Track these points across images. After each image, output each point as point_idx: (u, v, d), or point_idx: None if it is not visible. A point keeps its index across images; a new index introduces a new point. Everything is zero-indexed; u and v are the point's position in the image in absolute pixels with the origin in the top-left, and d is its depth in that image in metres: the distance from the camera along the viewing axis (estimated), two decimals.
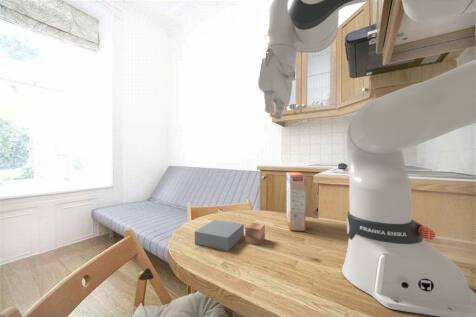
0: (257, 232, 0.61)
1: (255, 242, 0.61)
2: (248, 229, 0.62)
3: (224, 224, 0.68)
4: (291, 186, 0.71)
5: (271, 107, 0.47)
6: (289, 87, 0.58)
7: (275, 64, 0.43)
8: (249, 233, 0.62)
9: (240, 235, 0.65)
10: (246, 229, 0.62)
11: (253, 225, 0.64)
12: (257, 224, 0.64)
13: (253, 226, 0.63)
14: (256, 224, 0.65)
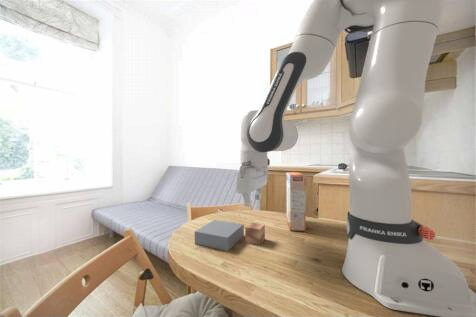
0: (257, 232, 0.61)
1: (255, 242, 0.61)
2: (248, 229, 0.62)
3: (224, 224, 0.68)
4: (291, 186, 0.71)
5: (249, 203, 0.59)
6: (266, 171, 0.70)
7: (248, 176, 0.55)
8: (249, 233, 0.62)
9: (240, 235, 0.65)
10: (246, 229, 0.62)
11: (253, 225, 0.64)
12: (257, 224, 0.64)
13: (253, 226, 0.63)
14: (256, 224, 0.65)
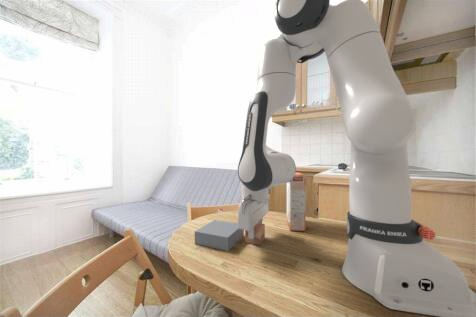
0: (256, 232, 0.61)
1: (255, 242, 0.61)
2: None
3: (224, 224, 0.68)
4: (291, 186, 0.71)
5: (253, 235, 0.60)
6: (267, 199, 0.70)
7: (250, 212, 0.55)
8: None
9: (240, 235, 0.65)
10: None
11: None
12: (257, 224, 0.64)
13: None
14: (256, 224, 0.65)
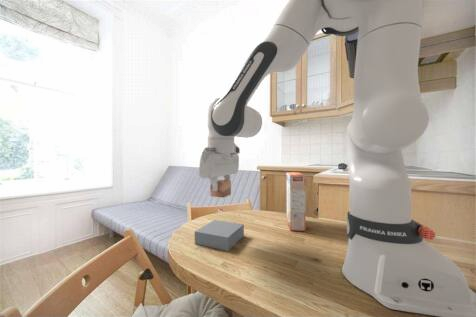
0: (221, 185, 0.62)
1: (219, 195, 0.62)
2: None
3: (224, 224, 0.68)
4: (291, 186, 0.71)
5: (216, 187, 0.61)
6: (236, 159, 0.71)
7: (210, 160, 0.56)
8: None
9: (240, 235, 0.65)
10: None
11: (219, 180, 0.65)
12: (224, 180, 0.66)
13: (218, 181, 0.64)
14: (223, 180, 0.66)
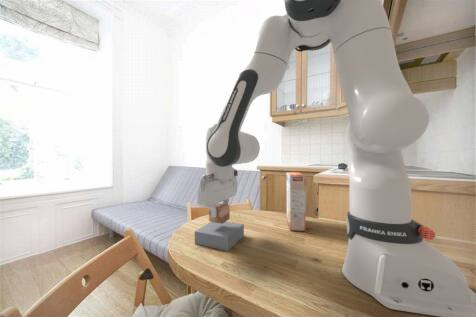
0: (219, 211, 0.62)
1: (217, 221, 0.62)
2: None
3: (224, 224, 0.68)
4: (291, 186, 0.71)
5: (215, 214, 0.61)
6: (234, 181, 0.71)
7: (209, 189, 0.56)
8: None
9: (240, 235, 0.65)
10: None
11: (217, 205, 0.65)
12: (222, 204, 0.65)
13: (216, 206, 0.64)
14: (221, 204, 0.66)
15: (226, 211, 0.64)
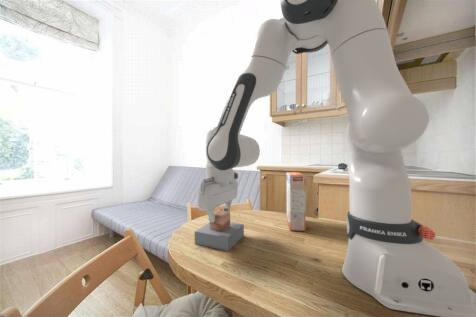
0: (220, 219, 0.62)
1: (218, 229, 0.62)
2: None
3: None
4: (291, 186, 0.71)
5: (213, 218, 0.59)
6: (234, 184, 0.71)
7: (209, 192, 0.56)
8: None
9: (240, 235, 0.65)
10: None
11: (218, 212, 0.65)
12: (223, 212, 0.65)
13: (217, 213, 0.64)
14: (222, 211, 0.66)
15: (227, 218, 0.64)
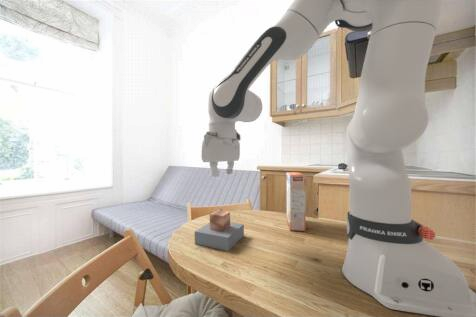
0: (220, 219, 0.62)
1: (218, 229, 0.62)
2: (212, 215, 0.63)
3: None
4: (291, 186, 0.71)
5: (216, 173, 0.60)
6: (237, 146, 0.71)
7: (212, 144, 0.56)
8: (213, 220, 0.63)
9: (240, 235, 0.65)
10: (210, 216, 0.63)
11: (218, 212, 0.65)
12: (223, 212, 0.65)
13: (217, 213, 0.64)
14: (222, 211, 0.66)
15: (227, 218, 0.64)
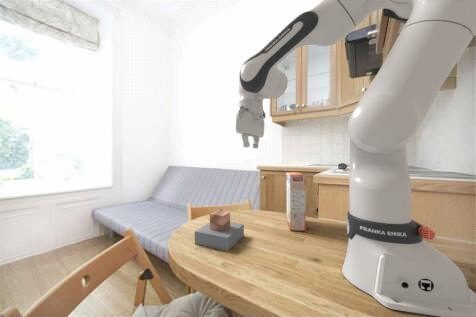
0: (220, 219, 0.62)
1: (218, 229, 0.62)
2: (212, 215, 0.63)
3: None
4: (291, 186, 0.71)
5: (247, 143, 0.67)
6: (262, 123, 0.78)
7: (246, 116, 0.63)
8: (213, 220, 0.63)
9: (240, 235, 0.65)
10: (210, 216, 0.63)
11: (218, 212, 0.65)
12: (223, 212, 0.65)
13: (217, 213, 0.64)
14: (222, 211, 0.66)
15: (227, 218, 0.64)
